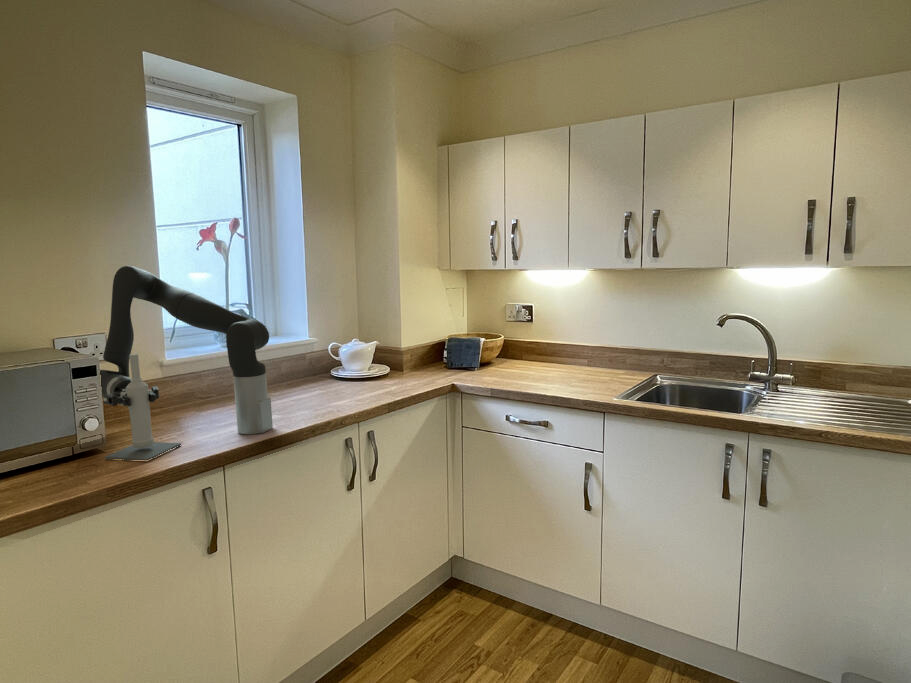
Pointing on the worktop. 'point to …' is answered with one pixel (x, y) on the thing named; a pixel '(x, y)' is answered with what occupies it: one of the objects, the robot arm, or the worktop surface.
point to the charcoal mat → (142, 451)
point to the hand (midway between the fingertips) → (141, 400)
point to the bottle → (139, 407)
